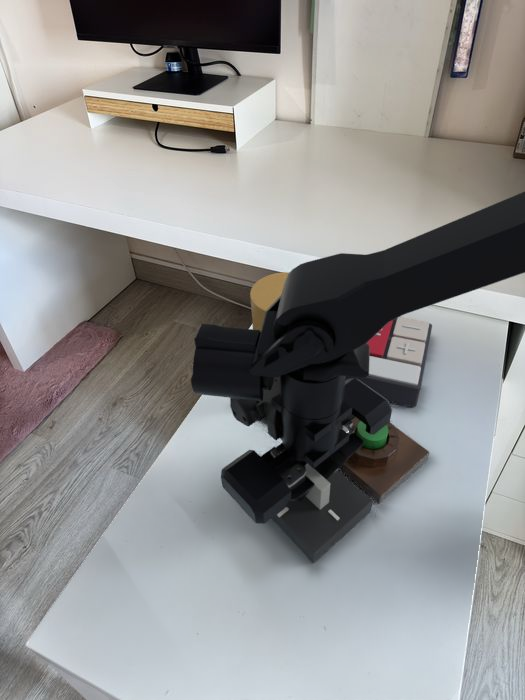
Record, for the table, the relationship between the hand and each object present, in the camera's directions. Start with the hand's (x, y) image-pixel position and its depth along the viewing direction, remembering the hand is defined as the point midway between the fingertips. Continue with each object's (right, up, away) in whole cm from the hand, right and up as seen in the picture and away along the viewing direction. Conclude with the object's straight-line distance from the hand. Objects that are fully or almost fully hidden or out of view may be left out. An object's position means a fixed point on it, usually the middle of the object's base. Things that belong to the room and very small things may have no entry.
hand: (308, 488), depth 56 cm
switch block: (+8, +3, +7) cm, 11 cm away
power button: (+8, +5, +5) cm, 10 cm away
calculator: (+13, +13, +18) cm, 26 cm away
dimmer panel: (0, -2, +2) cm, 3 cm away
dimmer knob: (0, 0, 0) cm, 0 cm away
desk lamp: (-2, +8, +13) cm, 16 cm away
